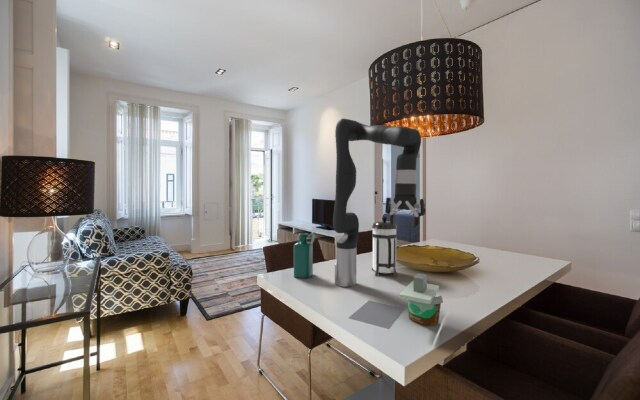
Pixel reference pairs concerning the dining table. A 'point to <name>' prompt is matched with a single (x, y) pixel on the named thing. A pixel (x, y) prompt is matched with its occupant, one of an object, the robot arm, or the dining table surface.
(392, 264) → the coffee press
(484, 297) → the dining table surface
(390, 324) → the mat
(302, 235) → the green bottle
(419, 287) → the lid
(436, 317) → the food container
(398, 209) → the robot arm
